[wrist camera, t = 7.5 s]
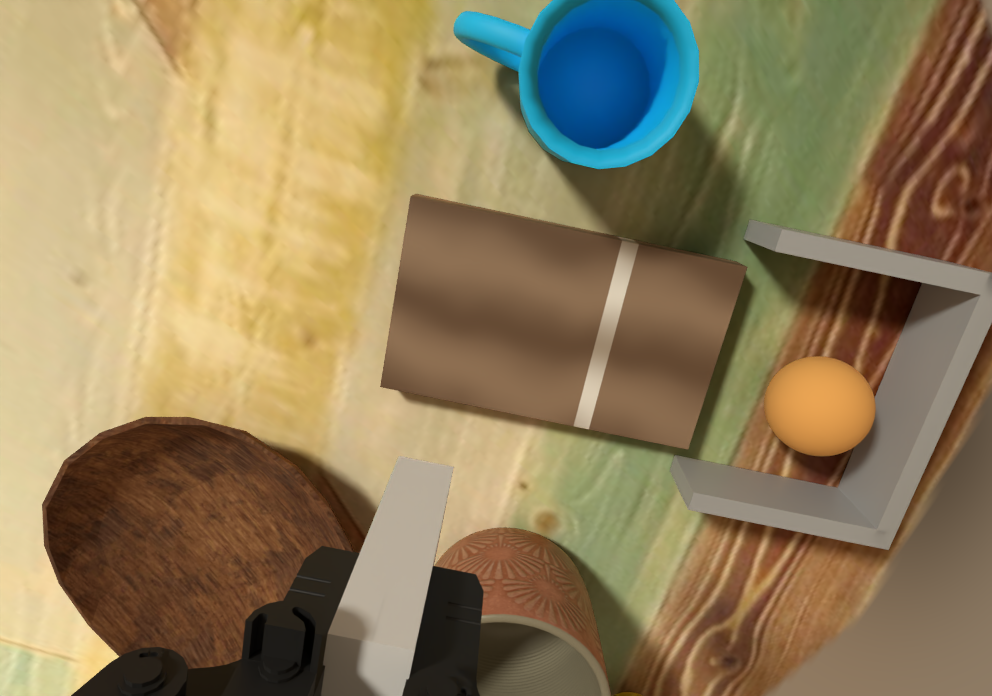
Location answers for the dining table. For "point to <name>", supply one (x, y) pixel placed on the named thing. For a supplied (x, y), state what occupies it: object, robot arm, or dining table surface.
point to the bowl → (181, 534)
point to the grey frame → (899, 403)
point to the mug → (596, 75)
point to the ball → (819, 406)
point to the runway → (556, 321)
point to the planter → (531, 617)
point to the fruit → (627, 694)
